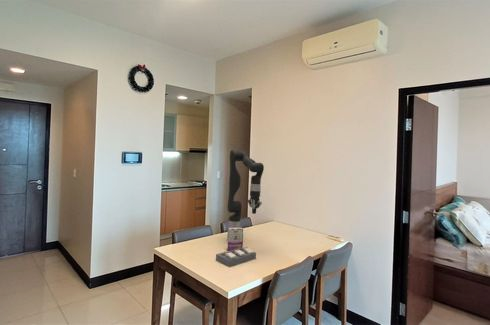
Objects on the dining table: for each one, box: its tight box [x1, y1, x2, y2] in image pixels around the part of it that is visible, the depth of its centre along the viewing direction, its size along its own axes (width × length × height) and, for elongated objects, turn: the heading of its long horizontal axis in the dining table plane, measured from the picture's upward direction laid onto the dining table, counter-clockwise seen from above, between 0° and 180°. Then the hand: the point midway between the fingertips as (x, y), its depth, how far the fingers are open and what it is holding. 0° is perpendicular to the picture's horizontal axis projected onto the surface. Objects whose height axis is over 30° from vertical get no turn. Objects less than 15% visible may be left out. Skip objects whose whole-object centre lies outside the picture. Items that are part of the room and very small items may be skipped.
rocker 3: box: [243, 246, 254, 254], centre depth 190 cm, size 6×4×2 cm, turn 44°
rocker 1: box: [225, 251, 236, 259], centre depth 179 cm, size 6×4×2 cm, turn 44°
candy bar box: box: [226, 227, 244, 251], centre depth 205 cm, size 11×5×16 cm, turn 101°
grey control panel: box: [215, 247, 257, 268], centre depth 186 cm, size 14×24×4 cm, turn 134°
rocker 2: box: [234, 249, 245, 256], centre depth 184 cm, size 6×4×2 cm, turn 44°
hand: (253, 213), depth 200 cm, fingers closed
